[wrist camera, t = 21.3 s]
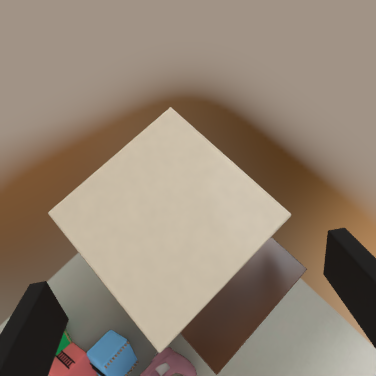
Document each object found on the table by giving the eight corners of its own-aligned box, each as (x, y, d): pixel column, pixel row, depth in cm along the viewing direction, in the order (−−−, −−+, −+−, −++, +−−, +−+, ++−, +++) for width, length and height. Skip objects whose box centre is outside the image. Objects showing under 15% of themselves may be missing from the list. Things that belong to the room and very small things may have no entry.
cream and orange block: (243, 244, 19) (292, 214, 8) (186, 303, 18) (159, 354, 7) (189, 190, 20) (170, 106, 10) (134, 242, 19) (47, 212, 9)
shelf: (252, 268, 39) (307, 269, 18) (210, 314, 37) (216, 375, 16) (186, 204, 42) (166, 141, 21) (145, 244, 41) (81, 220, 20)
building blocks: (92, 330, 42) (140, 362, 34) (43, 376, 37) (86, 427, 29) (72, 291, 40) (118, 316, 32) (16, 335, 34) (55, 378, 26)
